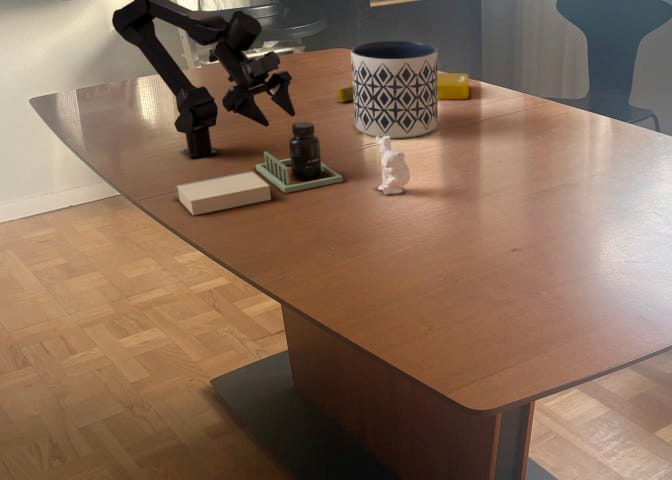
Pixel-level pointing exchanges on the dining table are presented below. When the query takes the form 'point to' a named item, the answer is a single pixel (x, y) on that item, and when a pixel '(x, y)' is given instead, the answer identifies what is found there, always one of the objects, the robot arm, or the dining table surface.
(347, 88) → the medication box
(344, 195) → the dining table surface
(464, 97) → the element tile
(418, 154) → the dining table surface
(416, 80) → the planter
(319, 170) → the supplement bottle
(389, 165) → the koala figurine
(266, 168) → the dish rack
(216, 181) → the cream bevelled block
